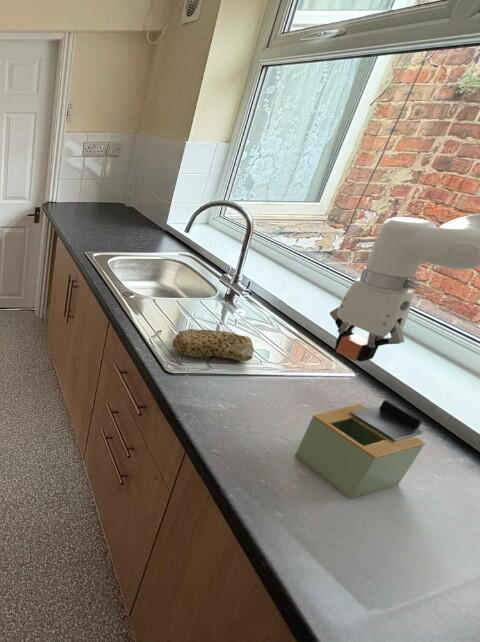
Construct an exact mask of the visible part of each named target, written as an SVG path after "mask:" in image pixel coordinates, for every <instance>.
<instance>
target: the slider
mask: <svg viewBox="0 0 480 642" xmlns="http://www.w3.org/2000/svg"><path fill="white" fill-rule="evenodd" d="M349 414H350V415H352V416H354V417H355V418H357V419H358V420H360V421H362V422H363V423H365V424H366V425H368V426H370V427H371V428H373V429H374V430H376V431H378V432H379V433H381V434H382V435H384V436H386V437H387V438H389V439H390V440H392V441H398V440H401V439H405V438H409V437H412V436H414V437H416V436H419V435H423V434H424V431H423V430H421V429H420V427H421V425H422V424H423V422H424V420H423V419H422V418H420V417H418V416H416V415H414V414H413V413H411V412H410V411H407V410H405V409H404V408H402V407H401V406H398V405H397V404H395V403H394V402H391V401H389V400H388V399H386V400H383V401H382V403H381V405H378V404H377V405H373V406H369V407H366V408H364V409H360V410H356V411H352V412H350V413H349Z"/></svg>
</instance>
